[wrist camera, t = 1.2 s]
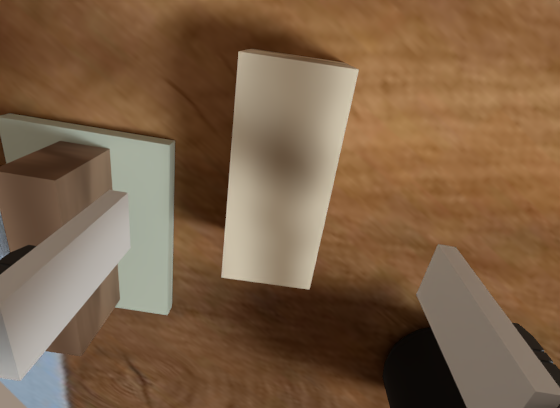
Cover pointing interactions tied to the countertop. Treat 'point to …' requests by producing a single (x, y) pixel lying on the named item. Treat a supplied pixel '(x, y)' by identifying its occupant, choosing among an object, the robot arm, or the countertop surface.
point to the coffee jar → (420, 374)
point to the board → (141, 197)
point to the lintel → (283, 163)
